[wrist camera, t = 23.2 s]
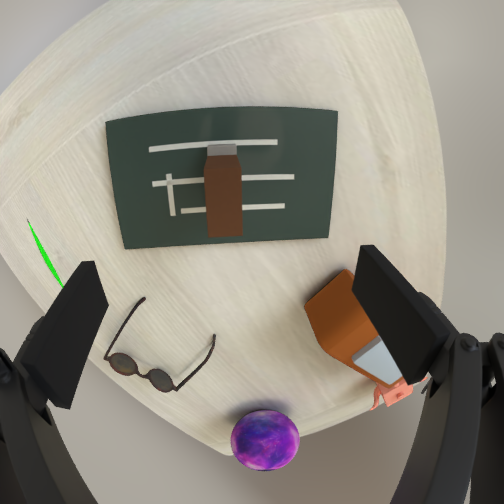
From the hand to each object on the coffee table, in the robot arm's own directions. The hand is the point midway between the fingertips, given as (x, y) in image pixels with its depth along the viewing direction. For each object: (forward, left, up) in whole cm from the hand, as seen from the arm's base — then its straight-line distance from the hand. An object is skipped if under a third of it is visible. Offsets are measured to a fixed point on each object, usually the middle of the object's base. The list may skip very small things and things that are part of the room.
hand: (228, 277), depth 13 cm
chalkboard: (0, 0, -21) cm, 21 cm away
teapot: (-35, +44, -21) cm, 60 cm away
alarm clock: (-22, +24, -21) cm, 39 cm away
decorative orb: (-5, +53, -21) cm, 57 cm away
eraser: (0, 0, -19) cm, 19 cm away
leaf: (+28, +9, -21) cm, 36 cm away
